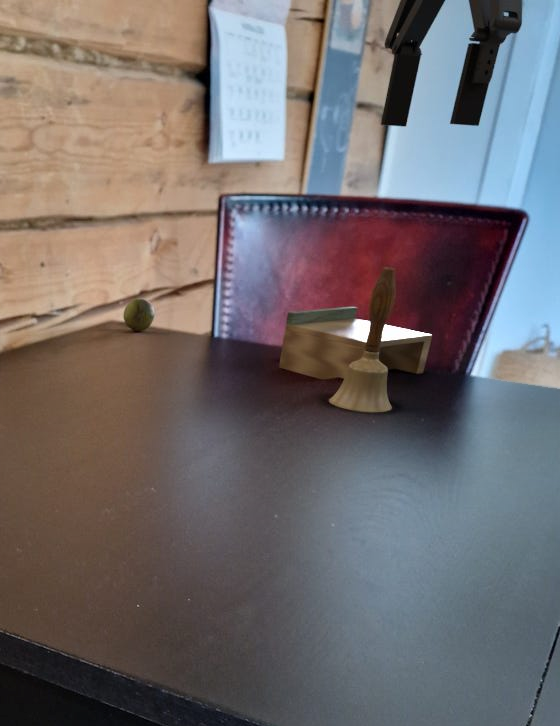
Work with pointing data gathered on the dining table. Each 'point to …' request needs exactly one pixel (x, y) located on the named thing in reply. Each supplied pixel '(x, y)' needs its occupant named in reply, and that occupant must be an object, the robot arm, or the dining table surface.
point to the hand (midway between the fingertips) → (426, 125)
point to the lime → (138, 315)
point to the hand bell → (370, 356)
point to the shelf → (345, 344)
